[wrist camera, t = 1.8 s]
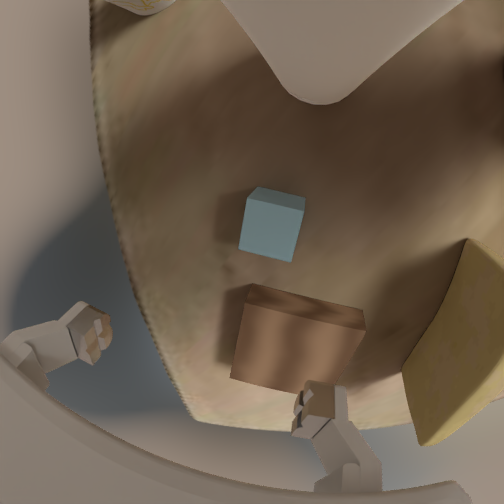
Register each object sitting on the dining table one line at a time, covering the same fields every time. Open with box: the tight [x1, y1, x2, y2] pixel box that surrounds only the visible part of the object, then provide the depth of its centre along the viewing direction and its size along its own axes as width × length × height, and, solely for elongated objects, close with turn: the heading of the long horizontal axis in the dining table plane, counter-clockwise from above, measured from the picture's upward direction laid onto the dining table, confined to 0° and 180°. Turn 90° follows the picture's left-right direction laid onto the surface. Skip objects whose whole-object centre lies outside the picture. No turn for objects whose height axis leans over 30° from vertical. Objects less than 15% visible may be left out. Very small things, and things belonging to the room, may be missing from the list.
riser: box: [230, 283, 367, 394], centre depth 33 cm, size 14×14×4 cm
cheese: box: [401, 239, 504, 446], centre depth 22 cm, size 22×10×15 cm, turn 163°
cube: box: [238, 187, 305, 263], centre depth 26 cm, size 5×5×5 cm
